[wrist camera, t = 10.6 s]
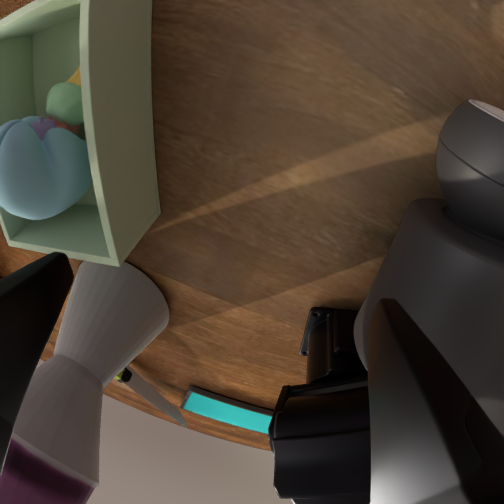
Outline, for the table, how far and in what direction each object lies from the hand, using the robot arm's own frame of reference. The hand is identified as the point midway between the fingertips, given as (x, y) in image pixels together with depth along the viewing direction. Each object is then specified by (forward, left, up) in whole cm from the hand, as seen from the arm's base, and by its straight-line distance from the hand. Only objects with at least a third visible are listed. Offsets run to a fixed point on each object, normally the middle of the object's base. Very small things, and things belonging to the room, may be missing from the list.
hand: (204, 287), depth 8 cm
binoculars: (0, -18, +3) cm, 18 cm away
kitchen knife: (-31, +15, -13) cm, 37 cm away
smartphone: (-36, +1, -13) cm, 38 cm away
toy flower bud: (+3, +12, -13) cm, 18 cm away
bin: (+2, +13, -13) cm, 19 cm away
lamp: (-16, +13, -13) cm, 24 cm away
